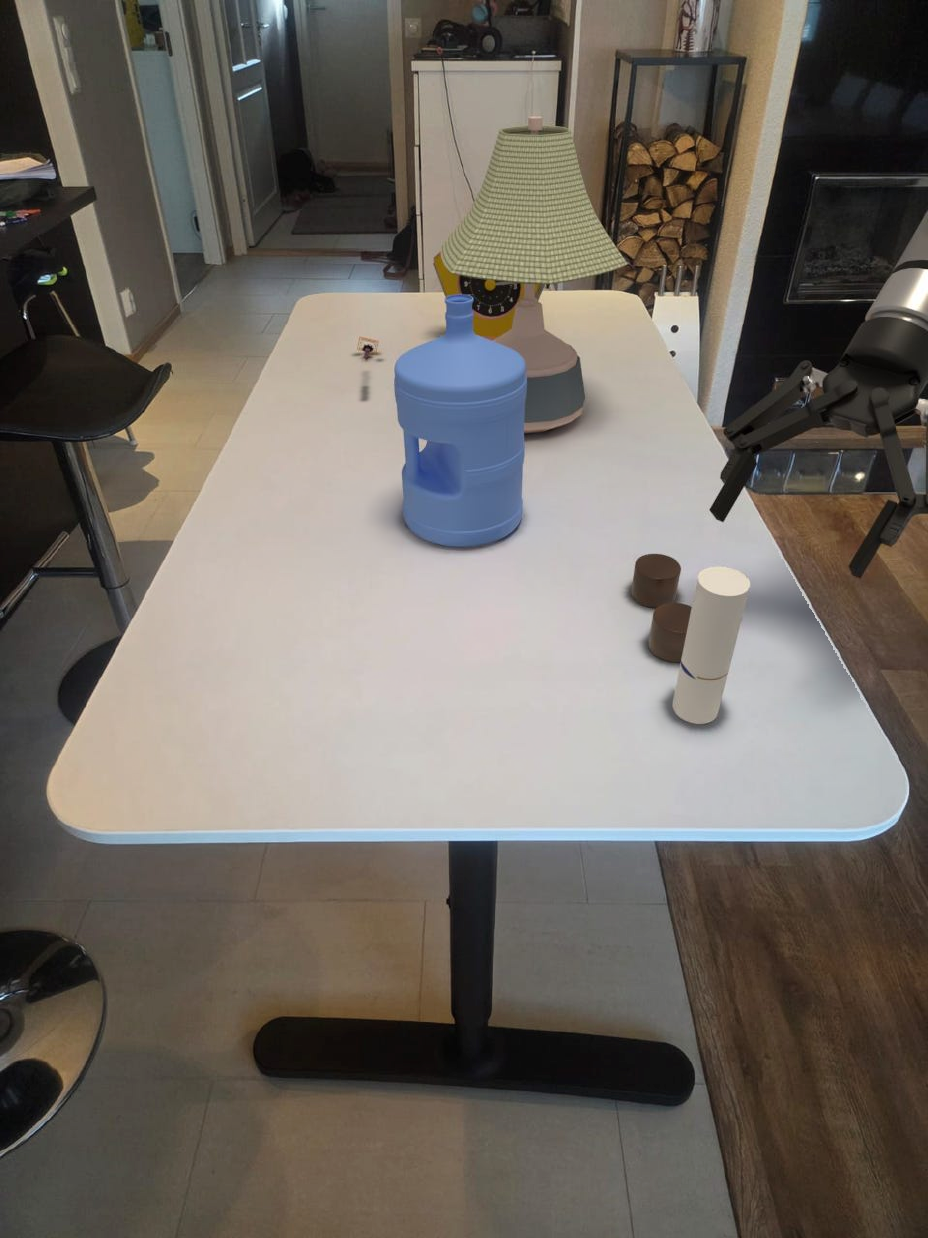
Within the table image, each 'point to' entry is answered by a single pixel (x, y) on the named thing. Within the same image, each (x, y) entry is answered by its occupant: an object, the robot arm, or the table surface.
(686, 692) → the tube
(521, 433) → the water jug
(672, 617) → the disc
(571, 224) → the desk lamp
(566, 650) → the table surface
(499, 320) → the yellow clock
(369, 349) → the framed picture
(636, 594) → the brown short cylinder
